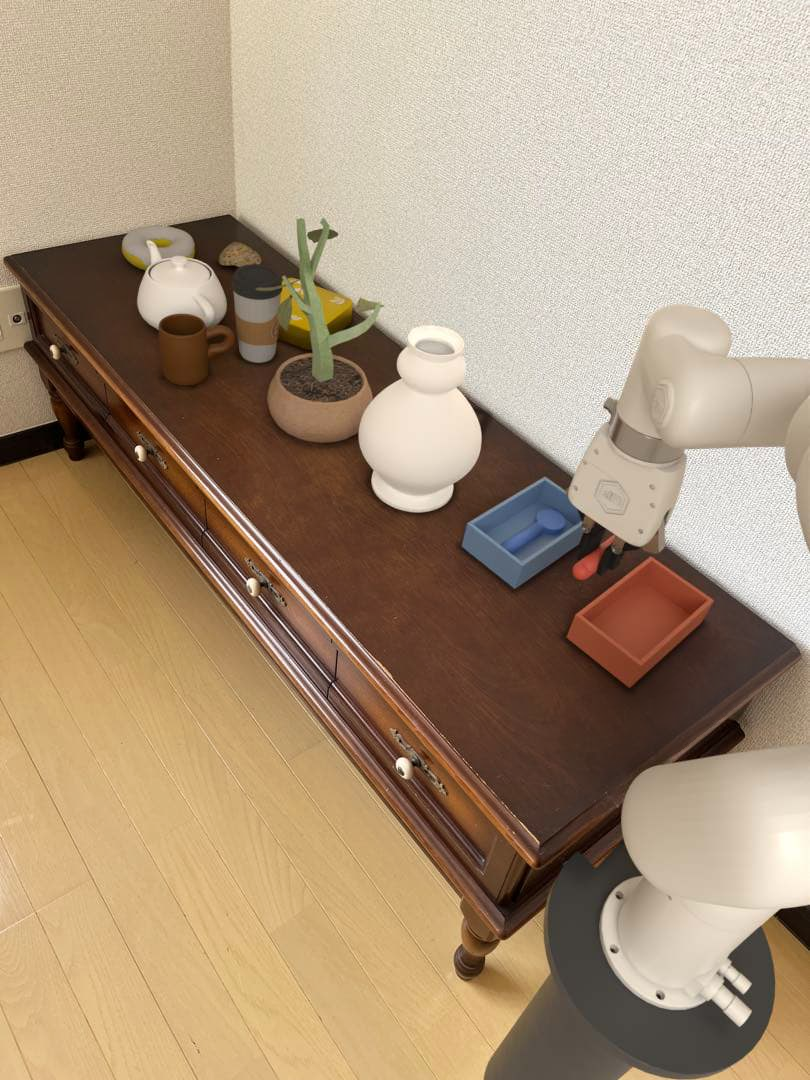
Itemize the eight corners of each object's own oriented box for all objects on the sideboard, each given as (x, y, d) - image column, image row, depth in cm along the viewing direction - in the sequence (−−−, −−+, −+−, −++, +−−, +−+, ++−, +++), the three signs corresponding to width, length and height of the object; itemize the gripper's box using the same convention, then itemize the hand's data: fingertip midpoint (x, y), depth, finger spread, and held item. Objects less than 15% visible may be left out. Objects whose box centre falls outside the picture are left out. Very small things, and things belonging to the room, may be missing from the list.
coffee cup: (273, 370, 142) (274, 291, 132) (227, 361, 142) (224, 280, 132) (287, 346, 148) (288, 268, 138) (242, 337, 148) (240, 258, 138)
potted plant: (396, 427, 135) (420, 253, 114) (304, 461, 126) (311, 279, 105) (320, 360, 146) (329, 191, 125) (230, 387, 137) (224, 209, 116)
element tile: (244, 326, 151) (244, 302, 148) (289, 295, 161) (289, 272, 158) (314, 354, 147) (315, 330, 144) (355, 320, 158) (357, 297, 154)
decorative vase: (390, 538, 116) (413, 390, 98) (333, 464, 126) (344, 318, 109) (492, 505, 124) (529, 362, 106) (430, 437, 134) (455, 297, 116)
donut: (183, 241, 172) (181, 218, 169) (206, 272, 164) (204, 248, 161) (115, 249, 166) (112, 225, 163) (135, 281, 158) (133, 256, 155)
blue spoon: (507, 569, 113) (510, 559, 112) (484, 551, 115) (486, 541, 114) (569, 527, 121) (573, 517, 120) (546, 510, 123) (550, 501, 122)
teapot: (253, 342, 148) (252, 279, 139) (171, 363, 140) (165, 298, 131) (190, 281, 161) (186, 219, 152) (113, 296, 153) (104, 233, 145)
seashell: (247, 268, 162) (217, 241, 162) (238, 289, 167) (209, 262, 167) (272, 255, 168) (243, 228, 168) (263, 275, 172) (235, 249, 172)
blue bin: (537, 499, 126) (544, 476, 123) (589, 536, 121) (598, 513, 118) (461, 546, 116) (466, 523, 113) (514, 589, 112) (522, 566, 109)
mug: (234, 361, 143) (232, 312, 136) (237, 386, 138) (235, 337, 131) (162, 362, 140) (157, 312, 133) (162, 387, 135) (157, 337, 128)
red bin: (640, 578, 116) (650, 556, 113) (701, 622, 111) (714, 600, 108) (565, 637, 107) (575, 614, 103) (629, 688, 102) (641, 666, 99)
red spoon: (589, 592, 90) (595, 580, 88) (558, 569, 92) (562, 557, 90) (658, 536, 98) (664, 524, 96) (628, 516, 100) (633, 504, 98)
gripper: (561, 405, 81) (521, 537, 94) (700, 490, 74) (635, 620, 87) (604, 381, 85) (560, 510, 98) (739, 459, 78) (672, 587, 91)
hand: (596, 561), depth 92 cm, fingers closed on red spoon, 2 cm apart
